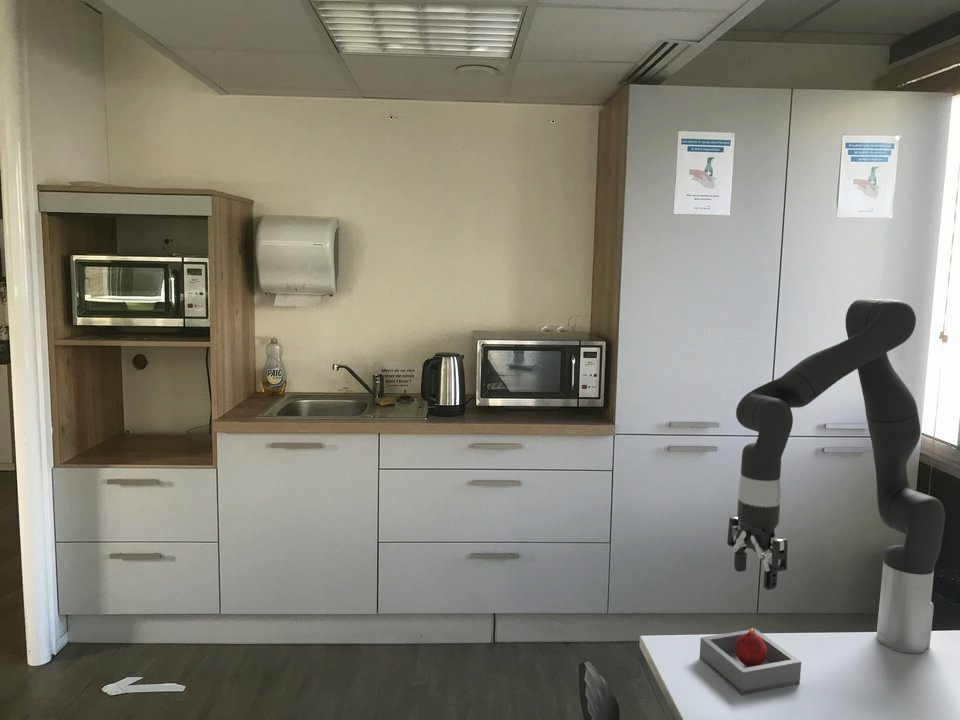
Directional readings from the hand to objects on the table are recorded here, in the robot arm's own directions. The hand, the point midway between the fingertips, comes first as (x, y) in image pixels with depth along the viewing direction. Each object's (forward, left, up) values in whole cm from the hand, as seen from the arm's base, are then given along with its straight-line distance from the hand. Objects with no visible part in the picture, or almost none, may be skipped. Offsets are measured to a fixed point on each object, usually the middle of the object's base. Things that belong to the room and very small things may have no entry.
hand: (754, 579), depth 139 cm
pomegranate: (0, 0, -18) cm, 18 cm away
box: (0, 0, -19) cm, 19 cm away
